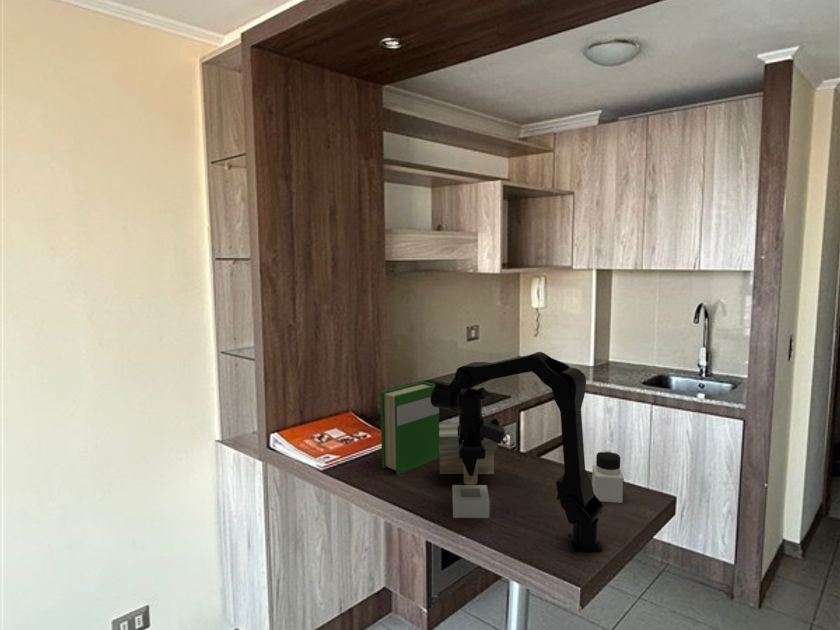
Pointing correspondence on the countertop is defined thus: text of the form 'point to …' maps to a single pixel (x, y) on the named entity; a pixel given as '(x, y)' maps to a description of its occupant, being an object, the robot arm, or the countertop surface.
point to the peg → (471, 479)
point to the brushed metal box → (450, 452)
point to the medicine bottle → (608, 477)
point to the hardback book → (409, 427)
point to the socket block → (470, 501)
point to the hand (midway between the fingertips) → (470, 472)
